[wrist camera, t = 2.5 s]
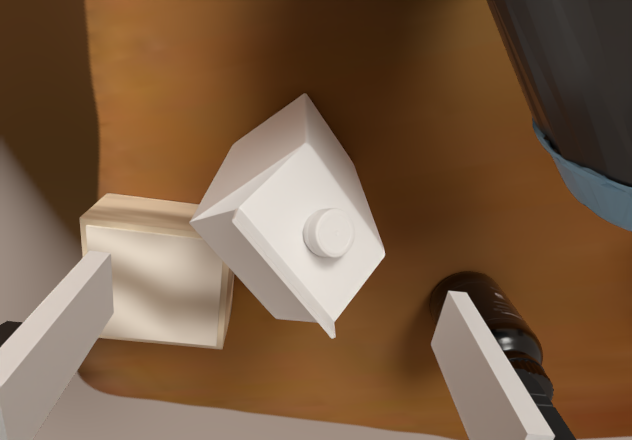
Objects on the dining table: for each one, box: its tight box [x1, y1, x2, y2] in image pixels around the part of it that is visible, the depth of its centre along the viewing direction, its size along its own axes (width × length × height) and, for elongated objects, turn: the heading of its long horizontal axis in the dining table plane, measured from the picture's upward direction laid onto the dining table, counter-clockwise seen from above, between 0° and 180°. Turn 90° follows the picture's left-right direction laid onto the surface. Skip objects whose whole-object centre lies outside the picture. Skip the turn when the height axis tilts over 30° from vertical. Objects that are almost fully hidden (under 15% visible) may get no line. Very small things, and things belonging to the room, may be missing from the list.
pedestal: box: [80, 193, 234, 349], centre depth 36 cm, size 11×11×5 cm
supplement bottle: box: [430, 272, 554, 401], centre depth 36 cm, size 7×7×12 cm
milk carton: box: [189, 93, 385, 339], centre depth 27 cm, size 7×7×19 cm
